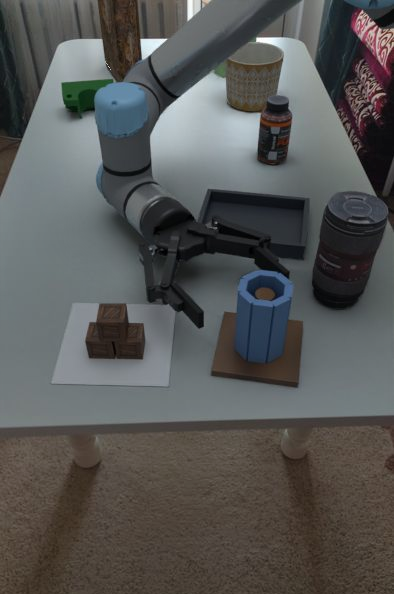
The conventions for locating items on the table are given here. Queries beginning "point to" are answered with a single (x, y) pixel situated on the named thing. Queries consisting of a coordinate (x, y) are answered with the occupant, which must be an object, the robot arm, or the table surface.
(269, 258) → the robot arm
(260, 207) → the tray
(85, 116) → the table surface
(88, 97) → the clamp
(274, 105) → the supplement bottle
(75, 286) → the table surface
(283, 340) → the sleeve
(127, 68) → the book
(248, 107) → the planter
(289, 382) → the dowel stand
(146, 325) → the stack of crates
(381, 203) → the camera lens
